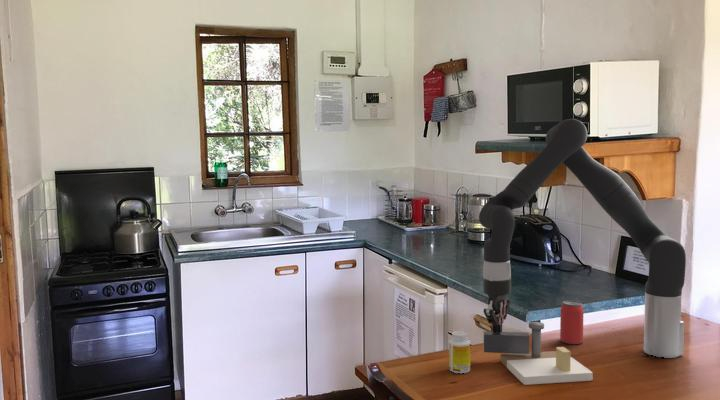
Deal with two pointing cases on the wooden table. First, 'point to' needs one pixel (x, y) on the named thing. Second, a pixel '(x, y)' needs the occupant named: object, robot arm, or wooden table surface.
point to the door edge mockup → (545, 363)
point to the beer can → (571, 322)
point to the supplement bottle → (459, 352)
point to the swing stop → (506, 342)
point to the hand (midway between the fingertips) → (497, 336)
